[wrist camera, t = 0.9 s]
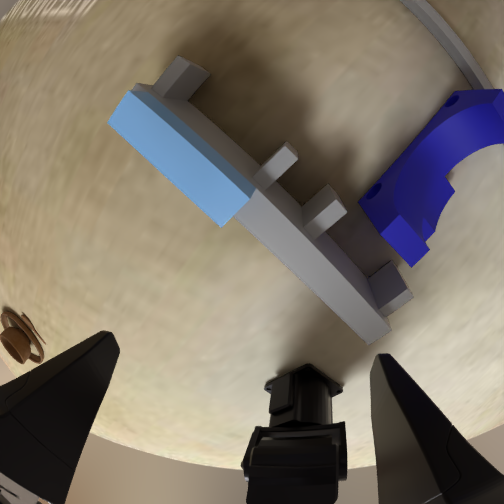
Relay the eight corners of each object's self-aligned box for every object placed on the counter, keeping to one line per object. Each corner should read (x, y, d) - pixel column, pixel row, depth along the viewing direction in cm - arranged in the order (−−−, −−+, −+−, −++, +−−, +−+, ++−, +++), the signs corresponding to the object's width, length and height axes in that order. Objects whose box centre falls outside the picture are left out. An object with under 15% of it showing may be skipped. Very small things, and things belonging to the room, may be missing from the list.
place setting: (30, 359, 42) (16, 377, 37) (-22, 284, 35) (-39, 299, 29) (61, 355, 36) (43, 378, 31) (-6, 258, 29) (-30, 276, 24)
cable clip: (395, 239, 19) (424, 282, 14) (357, 201, 19) (380, 234, 13) (485, 136, 14) (534, 149, 9) (453, 91, 13) (501, 89, 8)
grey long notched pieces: (518, 160, 14) (571, 183, 7) (358, 303, 22) (373, 366, 16) (343, -53, 9) (357, -103, 3) (156, 110, 17) (96, 112, 11)
